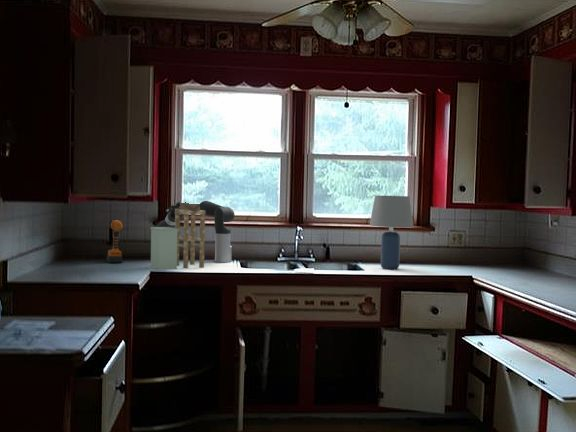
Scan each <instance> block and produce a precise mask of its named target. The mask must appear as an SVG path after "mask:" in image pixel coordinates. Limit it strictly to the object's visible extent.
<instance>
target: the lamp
mask: <svg viewBox="0 0 576 432" xmlns="http://www.w3.org/2000/svg"><path fill="white" fill-rule="evenodd" d="M373 199H374V200H373V204H372V205H373V206H372V208H371V209H372V211H371V215H370V222H369V226H371V227H382V228H388V231H383V233H382V235H381V241H380V242H381V246H380V267H381V268H382V269H383V270H387V269H391V271H394V269H396V270H398V269H399V268H400V257H401V256H400V255H401V235H400V233H398V232H397V231H394V228H414V222H413V220H414V219H413V214H412V213H413V211H412V204H411V198H410V196H409V195H408V196H407V195H405V196H404V195H403V196H402V195H374V198H373Z"/></svg>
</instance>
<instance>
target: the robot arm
mask: <svg viewBox="0 0 576 432" xmlns="http://www.w3.org/2000/svg"><path fill="white" fill-rule="evenodd" d="M176 203H177V204H176ZM176 203H175V205H173V204H172V205H170V206H169V207H167V208H166V210H165V211H166V217H165V218H164V219H163V220H161V221H159V222H158V223H157V224H156V227H171V228H175V209H177V208H179V206H180V201H178V202H176ZM185 203H186V202H185ZM199 203H200V210H204V211H206V214H205V217H210V218H214V230H215V235H214V236H215V240H214V241H215V242H214V243H215V245H214V246H215V247H214V261H215V262H217V263H229V262H232V256H233V255H232V251H233V250H232V248H233V247H232V245H231V234H232V231H231V228H230V227H226V225H225V223H230V222H232V221H233V220H234V219H235V216H236V215H235V212H234V210H233V209H232V208H231V207H229V206H222V205H220V204H217V203H215V202H212V201H210V200H203V201H201V202H199ZM183 218H184V214H180V221H181V220H182V219H183Z"/></svg>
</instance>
